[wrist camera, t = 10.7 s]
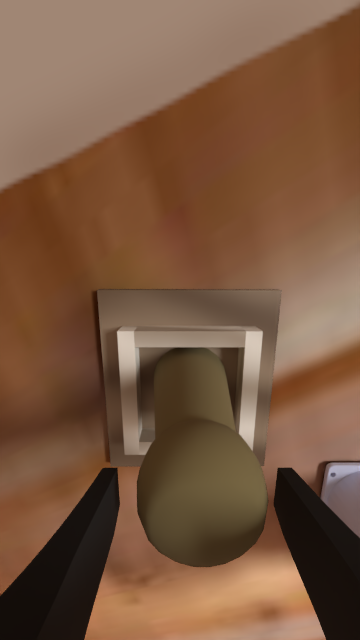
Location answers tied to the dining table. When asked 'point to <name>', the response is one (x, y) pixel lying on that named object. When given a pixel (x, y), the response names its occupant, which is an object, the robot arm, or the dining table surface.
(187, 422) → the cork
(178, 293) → the collar board
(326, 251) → the dining table surface
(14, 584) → the robot arm
